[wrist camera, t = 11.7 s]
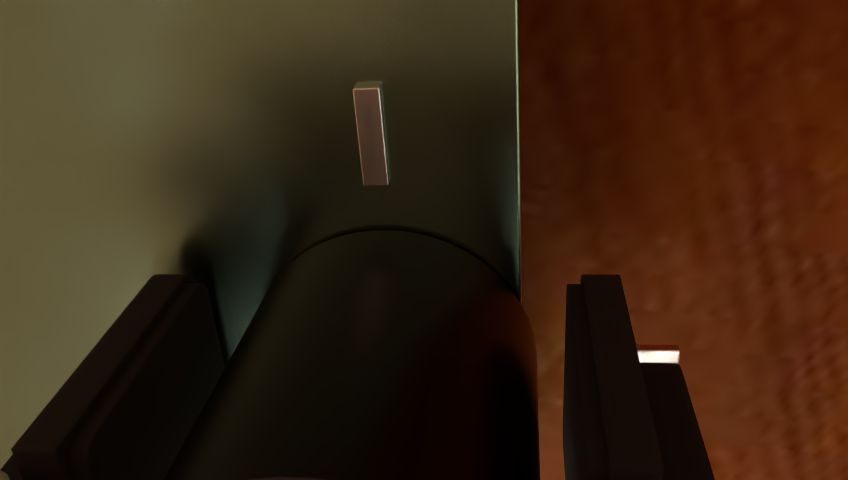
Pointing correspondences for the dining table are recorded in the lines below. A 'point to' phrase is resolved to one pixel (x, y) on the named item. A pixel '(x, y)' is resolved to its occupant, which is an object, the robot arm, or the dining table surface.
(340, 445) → the dimmer knob
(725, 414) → the dining table surface
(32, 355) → the dimmer panel
